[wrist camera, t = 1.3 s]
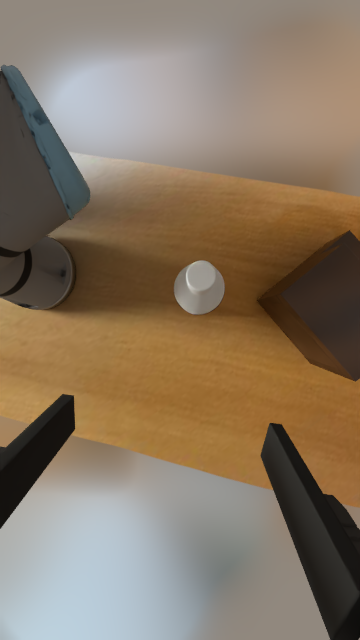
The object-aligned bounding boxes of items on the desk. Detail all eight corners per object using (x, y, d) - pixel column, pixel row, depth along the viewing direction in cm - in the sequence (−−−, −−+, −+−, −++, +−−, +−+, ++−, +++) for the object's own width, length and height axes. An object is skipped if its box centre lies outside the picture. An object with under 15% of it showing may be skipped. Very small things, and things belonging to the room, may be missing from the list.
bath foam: (221, 290, 37) (253, 259, 17) (204, 321, 37) (216, 326, 17) (190, 274, 37) (187, 224, 17) (174, 304, 37) (151, 290, 17)
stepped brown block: (256, 300, 36) (280, 293, 26) (327, 242, 35) (380, 212, 25) (310, 363, 36) (355, 381, 26) (384, 307, 34) (461, 303, 24)
